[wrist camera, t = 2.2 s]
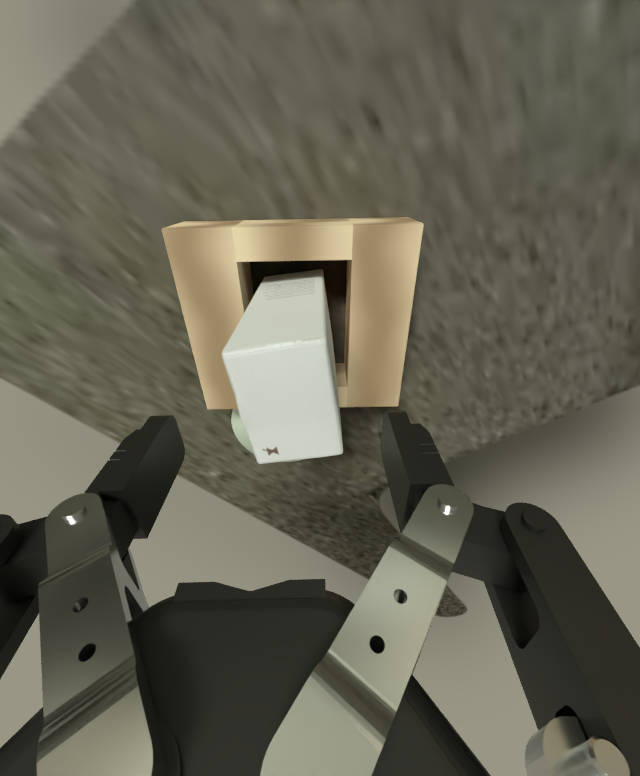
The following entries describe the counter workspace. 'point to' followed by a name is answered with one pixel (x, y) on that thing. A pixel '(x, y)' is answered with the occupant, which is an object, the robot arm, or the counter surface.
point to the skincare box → (286, 370)
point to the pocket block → (301, 243)
